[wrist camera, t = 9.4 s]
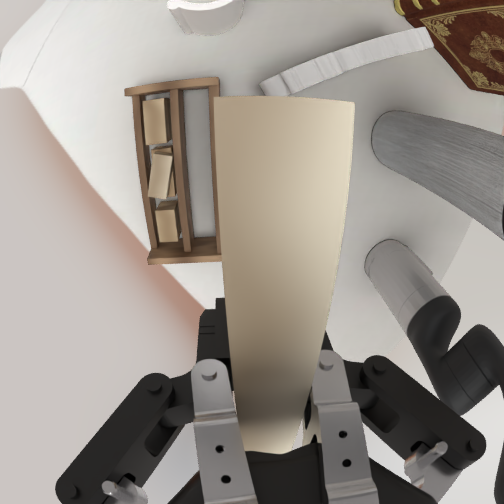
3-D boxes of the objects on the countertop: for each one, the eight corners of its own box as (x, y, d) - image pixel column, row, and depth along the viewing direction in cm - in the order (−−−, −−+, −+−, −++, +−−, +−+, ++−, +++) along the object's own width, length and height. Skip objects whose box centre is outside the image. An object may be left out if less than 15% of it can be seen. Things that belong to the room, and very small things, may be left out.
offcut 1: (170, 98, 34) (163, 98, 30) (172, 138, 37) (166, 142, 33) (151, 101, 34) (142, 101, 30) (154, 140, 37) (146, 145, 33)
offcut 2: (178, 200, 42) (174, 209, 38) (181, 229, 44) (178, 241, 41) (160, 201, 42) (155, 210, 38) (164, 230, 44) (159, 242, 41)
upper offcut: (175, 153, 36) (172, 156, 34) (168, 194, 38) (165, 199, 37) (156, 151, 35) (153, 153, 33) (151, 192, 38) (147, 196, 36)
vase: (375, 173, 42) (495, 259, 19) (365, 114, 37) (506, 153, 14) (421, 163, 41) (541, 232, 18) (415, 107, 36) (551, 145, 13)
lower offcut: (174, 144, 38) (170, 147, 35) (178, 190, 41) (175, 196, 39) (156, 146, 38) (151, 150, 35) (160, 191, 41) (156, 197, 38)
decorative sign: (266, 99, 37) (274, 104, 25) (258, 84, 36) (261, 81, 24) (395, 50, 31) (450, 44, 19) (388, 36, 30) (441, 23, 17)
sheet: (266, 102, 15) (354, 102, 4) (263, 335, 23) (284, 469, 13) (224, 103, 14) (213, 97, 4) (235, 337, 23) (244, 473, 13)
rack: (219, 81, 33) (218, 76, 28) (226, 241, 46) (226, 261, 41) (138, 90, 33) (124, 88, 28) (156, 245, 45) (148, 264, 40)
